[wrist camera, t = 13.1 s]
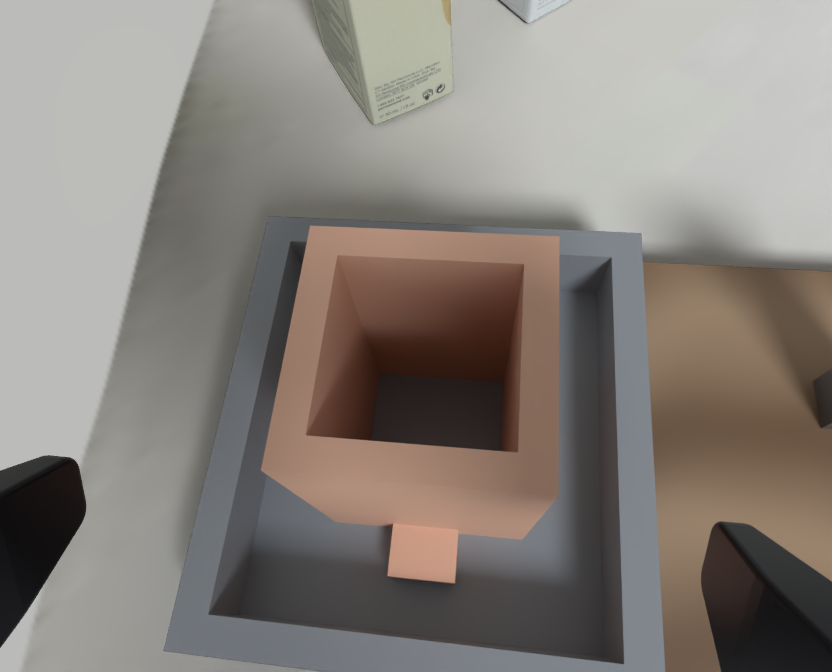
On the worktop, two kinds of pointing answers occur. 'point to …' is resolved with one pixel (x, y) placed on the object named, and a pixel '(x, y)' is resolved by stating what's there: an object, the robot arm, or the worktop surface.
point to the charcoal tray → (477, 555)
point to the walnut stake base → (736, 425)
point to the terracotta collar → (423, 357)
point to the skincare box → (389, 51)
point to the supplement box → (532, 7)
